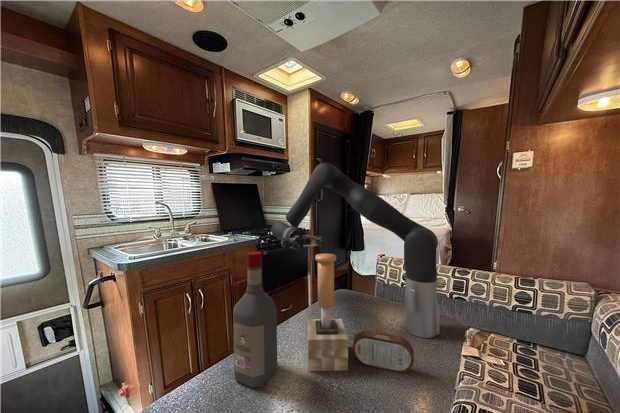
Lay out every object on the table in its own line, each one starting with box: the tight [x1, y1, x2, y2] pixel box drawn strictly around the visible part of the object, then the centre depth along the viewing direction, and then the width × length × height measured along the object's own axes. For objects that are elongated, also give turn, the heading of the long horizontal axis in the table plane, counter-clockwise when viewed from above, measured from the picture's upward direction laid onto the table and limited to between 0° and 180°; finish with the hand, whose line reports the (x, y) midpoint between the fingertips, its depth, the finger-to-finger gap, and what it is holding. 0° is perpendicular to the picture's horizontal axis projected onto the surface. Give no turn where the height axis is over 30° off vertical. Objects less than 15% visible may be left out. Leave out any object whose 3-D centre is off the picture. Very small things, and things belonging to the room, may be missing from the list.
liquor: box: [232, 250, 278, 389], centre depth 58 cm, size 9×9×30 cm
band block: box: [307, 318, 349, 372], centre depth 64 cm, size 10×10×9 cm
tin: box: [352, 329, 415, 374], centre depth 60 cm, size 15×3×8 cm, turn 71°
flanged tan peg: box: [315, 252, 337, 329], centre depth 63 cm, size 6×6×21 cm
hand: (310, 245), depth 73 cm, fingers open, 8 cm apart
